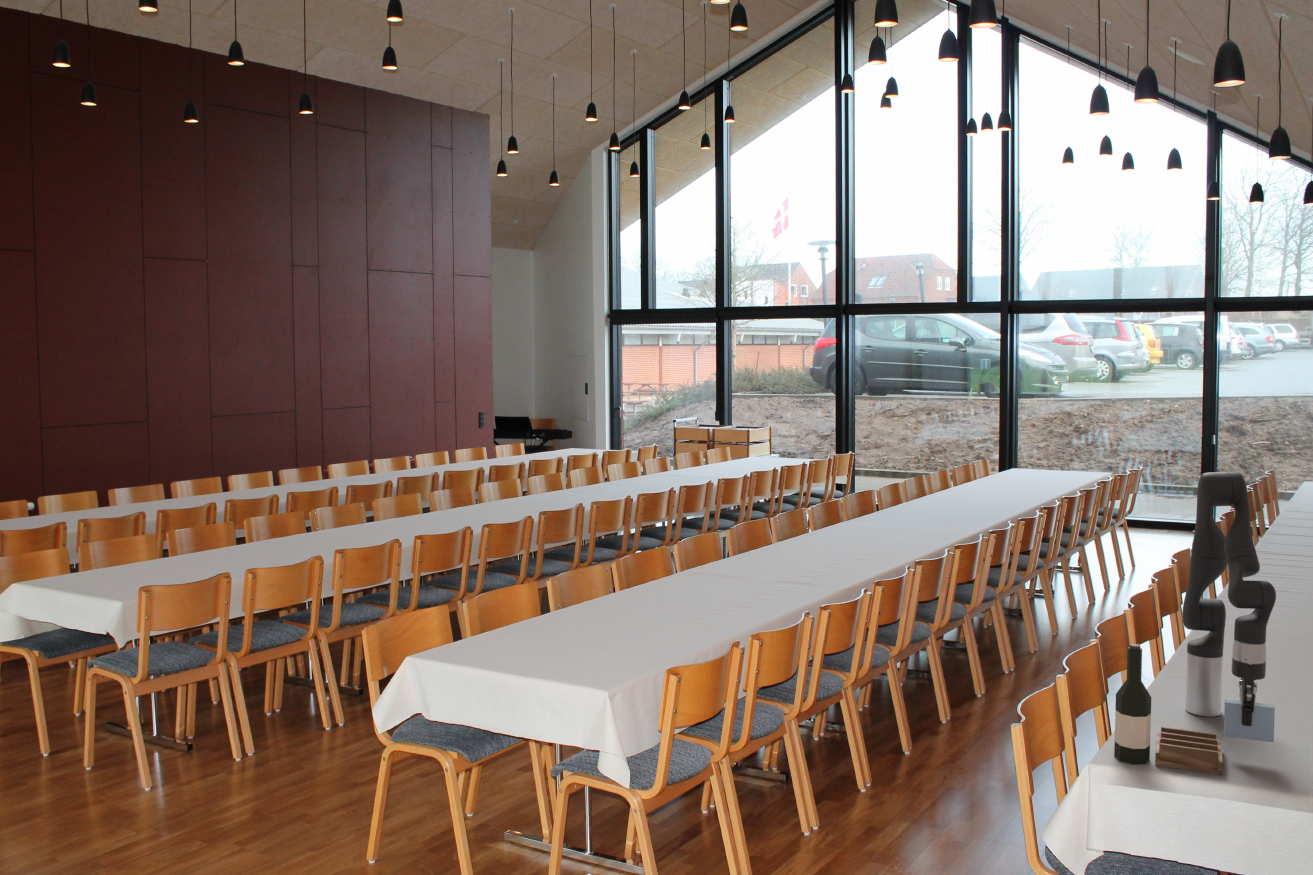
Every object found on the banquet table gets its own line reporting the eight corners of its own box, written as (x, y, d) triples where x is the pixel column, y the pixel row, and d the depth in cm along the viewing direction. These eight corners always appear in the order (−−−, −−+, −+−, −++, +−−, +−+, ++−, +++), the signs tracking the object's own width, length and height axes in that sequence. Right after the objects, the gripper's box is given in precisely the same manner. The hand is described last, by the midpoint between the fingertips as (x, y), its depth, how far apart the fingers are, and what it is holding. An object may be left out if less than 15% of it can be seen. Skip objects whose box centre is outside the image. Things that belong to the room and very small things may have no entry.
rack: (1156, 743, 281) (1157, 724, 280) (1220, 752, 274) (1220, 732, 274) (1155, 764, 267) (1155, 744, 266) (1222, 774, 260) (1222, 754, 259)
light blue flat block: (1223, 732, 272) (1224, 698, 271) (1272, 738, 267) (1273, 704, 266) (1224, 735, 270) (1225, 702, 269) (1273, 742, 265) (1274, 707, 264)
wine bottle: (1150, 766, 266) (1154, 650, 263) (1114, 762, 269) (1117, 647, 266) (1148, 754, 273) (1151, 642, 271) (1113, 750, 276) (1116, 639, 274)
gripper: (1231, 648, 275) (1228, 711, 276) (1233, 663, 262) (1230, 730, 264) (1264, 651, 271) (1261, 715, 273) (1268, 667, 259) (1265, 735, 261)
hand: (1246, 722), depth 269 cm, fingers closed on light blue flat block, 2 cm apart
